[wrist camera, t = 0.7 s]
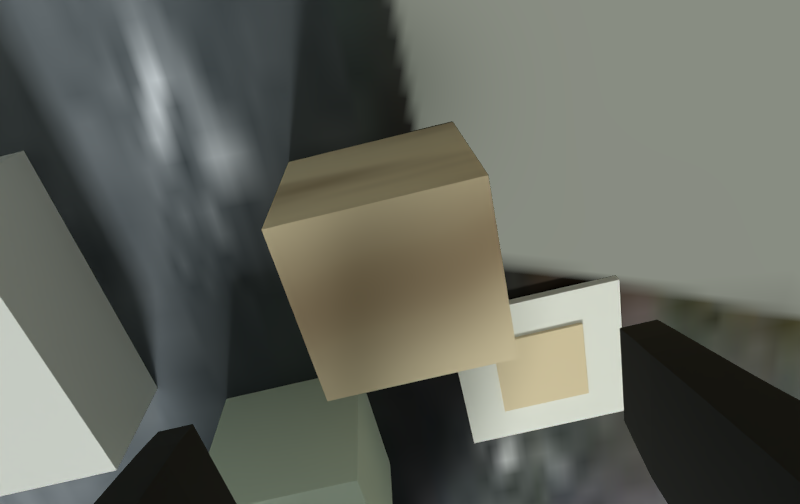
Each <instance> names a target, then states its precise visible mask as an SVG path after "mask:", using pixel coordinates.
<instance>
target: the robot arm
mask: <svg viewBox="0 0 800 504" xmlns="http://www.w3.org/2000/svg"><path fill="white" fill-rule="evenodd" d="M620 345H621V364H622V384H623V403H624V421H625V423H626V425H627V427H628V429H629V432H630V434H631V436H632V438H633V440H634V442H635V444H636V446H637V448H638V451H639V453H640V455H641V457H642V459H643V461H644V463H645V465H646V467H647V469H648V471H649V473H650V475H651V477H652V479H653V480H654V482H655V484H656V485H657V487H658V489H659V490H660V492H661V493H662V495H663V497H664V498H665V500H666V501H667V503H668V504H800V400H798V399H796V398H794V397H792V396H791V395H789V394H787V393H785V392H783V391H781V390H780V389H778V388H776V387H774V386H772V385H770V384H769V383H767V382H765V381H763V380H761V379H760V378H758V377H756V376H754V375H753V374H751V373H749V372H747V371H745V370H744V369H742V368H740V367H738V366H737V365H735V364H733V363H731V362H730V361H728V360H726V359H725V358H723V357H721V356H719V355H718V354H716V353H714V352H712V351H711V350H709V349H707V348H706V347H704V346H702V345H700V344H699V343H697V342H695V341H694V340H692V339H690V338H688V337H687V336H685V335H683V334H682V333H680V332H678V331H676V330H675V329H673V328H671V327H669V326H668V325H666V324H664V323H662V322H661V321H659V320H654V321H650V322H645V323H641V324H636V325H632V326H627V327H623V328H620ZM94 504H236V502H235V500H234V498H233V496H232V495H231V493H230V491H229V489H228V487H227V485H226V484H225V482H224V480H223V478H222V476H221V474H220V473H219V471H218V469H217V467H216V465H215V464H214V462H213V460H212V458H211V456H210V454H209V453H208V451H207V449H206V447H205V445H204V444H203V442H202V440H201V438H200V436H199V434H198V433H197V431H196V429H195V427H194V425H193V424H191V425H187V426H182V427H178V428H174V429H169V430H165V431H160V432H158V433H157V434H156V435H155V436H154V437H153V438H152V439H151V440H150V441H149V442H148V443H147V444H146V445H145V446H144V447H143V448H142V450H141V451H140V452H139V453H138V454H137V455H136V456H135V457H134V458H133V459H132V461H131V462H130V463H129V464H128V465H127V466H126V467H125V469H124V470H123V471H122V472H121V473H120V474H119V475H118V477H117V478H116V479H115V480H114V481H113V482H112V483H111V485H110V486H109V487H108V488H107V489H106V490H105V491H104V493H103V494H102V495H101V496H100V497H99V498H98V499H97V501H96V502H95V503H94Z"/></svg>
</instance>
